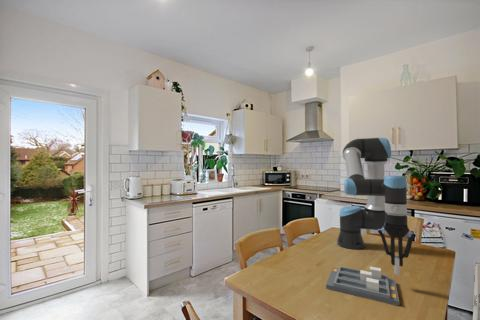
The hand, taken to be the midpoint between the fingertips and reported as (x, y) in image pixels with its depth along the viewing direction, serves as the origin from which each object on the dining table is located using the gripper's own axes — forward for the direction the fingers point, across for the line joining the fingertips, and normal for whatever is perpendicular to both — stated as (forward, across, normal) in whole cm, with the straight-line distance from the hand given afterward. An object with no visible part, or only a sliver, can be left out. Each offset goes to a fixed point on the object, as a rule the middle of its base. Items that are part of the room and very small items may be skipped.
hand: (397, 273), depth 94 cm
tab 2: (+4, -8, 0) cm, 8 cm away
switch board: (+5, -13, -6) cm, 15 cm away
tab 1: (+4, -11, -6) cm, 13 cm away
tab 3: (+4, -9, -12) cm, 15 cm away
